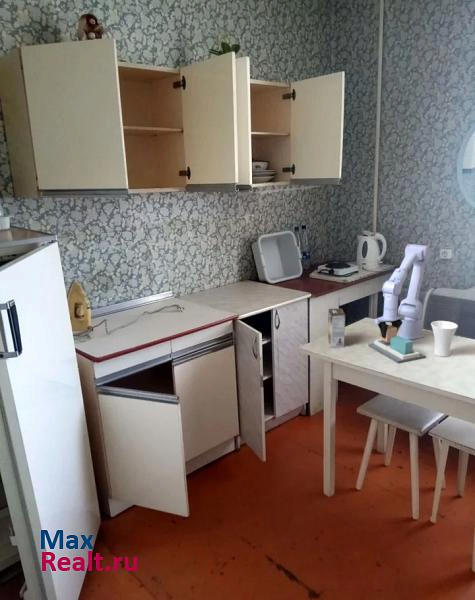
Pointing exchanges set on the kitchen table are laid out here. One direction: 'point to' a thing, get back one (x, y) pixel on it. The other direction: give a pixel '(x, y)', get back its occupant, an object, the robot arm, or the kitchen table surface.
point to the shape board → (394, 352)
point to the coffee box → (336, 327)
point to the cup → (443, 337)
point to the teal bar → (402, 345)
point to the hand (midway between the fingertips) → (388, 336)
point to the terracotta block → (389, 333)
